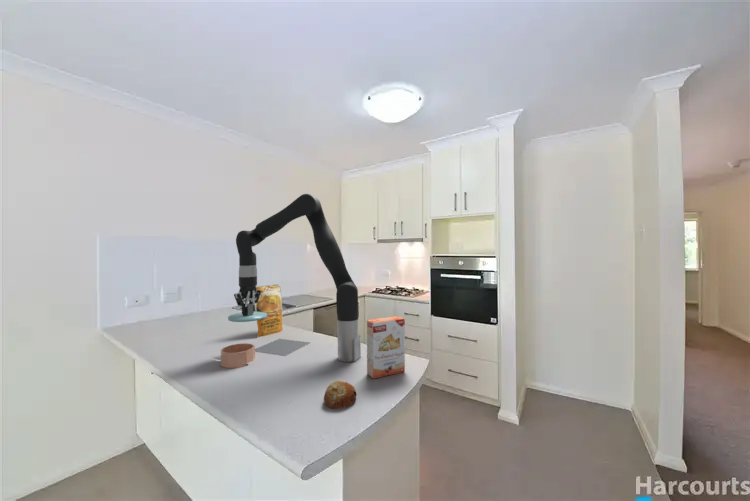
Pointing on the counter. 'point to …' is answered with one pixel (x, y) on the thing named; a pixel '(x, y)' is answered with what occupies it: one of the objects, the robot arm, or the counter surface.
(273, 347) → the mat
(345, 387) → the bread roll
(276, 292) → the pancake mix bag
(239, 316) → the lid
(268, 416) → the counter surface
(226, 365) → the bowl
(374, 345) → the cracker box
